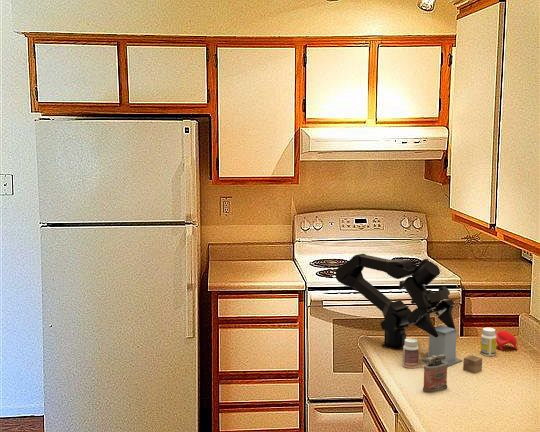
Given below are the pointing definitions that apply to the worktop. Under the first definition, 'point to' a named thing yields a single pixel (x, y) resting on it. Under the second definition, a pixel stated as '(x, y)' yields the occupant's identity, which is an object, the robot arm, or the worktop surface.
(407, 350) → the pill bottle
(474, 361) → the block
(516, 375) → the worktop surface
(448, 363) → the coaster
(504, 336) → the red plastic curved piece
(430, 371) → the lighter
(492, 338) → the supplement bottle
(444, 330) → the cover
